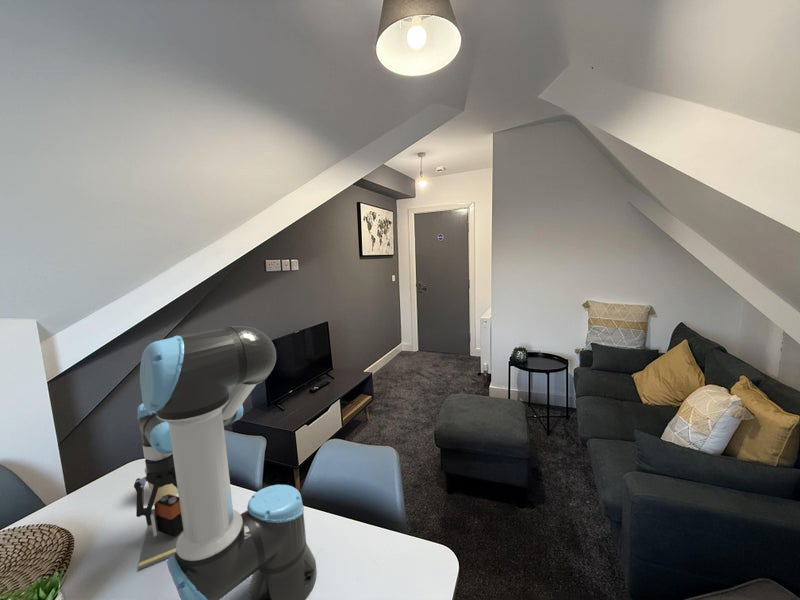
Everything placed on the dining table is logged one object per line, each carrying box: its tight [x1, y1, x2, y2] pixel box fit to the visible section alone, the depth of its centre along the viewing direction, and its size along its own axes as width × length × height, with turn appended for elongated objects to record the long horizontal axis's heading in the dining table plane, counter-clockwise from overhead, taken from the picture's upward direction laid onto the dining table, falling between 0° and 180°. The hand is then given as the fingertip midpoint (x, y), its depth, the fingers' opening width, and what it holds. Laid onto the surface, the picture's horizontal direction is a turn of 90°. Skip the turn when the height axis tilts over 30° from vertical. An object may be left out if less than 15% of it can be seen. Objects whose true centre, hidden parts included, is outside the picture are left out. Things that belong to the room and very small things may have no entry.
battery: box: [153, 494, 183, 537], centre depth 93 cm, size 4×7×10 cm, turn 70°
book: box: [137, 525, 183, 572], centre depth 94 cm, size 18×14×1 cm
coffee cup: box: [144, 467, 178, 503], centre depth 110 cm, size 9×9×12 cm
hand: (172, 526), depth 94 cm, fingers closed on battery, 7 cm apart
